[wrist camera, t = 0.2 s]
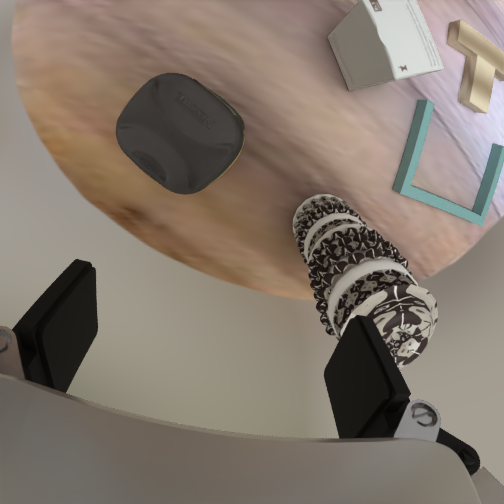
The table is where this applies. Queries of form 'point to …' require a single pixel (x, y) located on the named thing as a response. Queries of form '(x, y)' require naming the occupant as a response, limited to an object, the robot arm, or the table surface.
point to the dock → (405, 188)
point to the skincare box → (383, 43)
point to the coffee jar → (180, 133)
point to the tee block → (476, 65)
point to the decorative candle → (362, 277)
